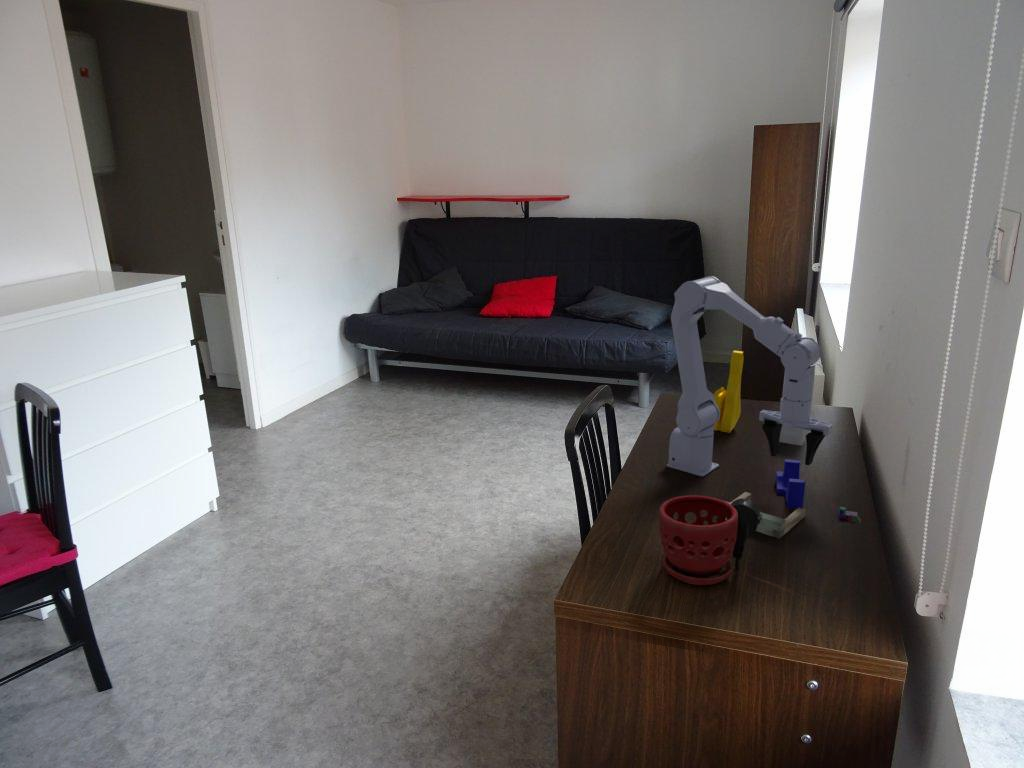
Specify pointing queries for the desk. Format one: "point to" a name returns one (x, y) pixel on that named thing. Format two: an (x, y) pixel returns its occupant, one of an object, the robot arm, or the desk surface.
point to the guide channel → (775, 520)
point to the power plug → (745, 525)
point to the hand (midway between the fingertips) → (791, 459)
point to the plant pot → (698, 539)
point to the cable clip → (791, 484)
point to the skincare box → (792, 434)
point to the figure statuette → (730, 396)
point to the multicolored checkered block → (848, 515)
